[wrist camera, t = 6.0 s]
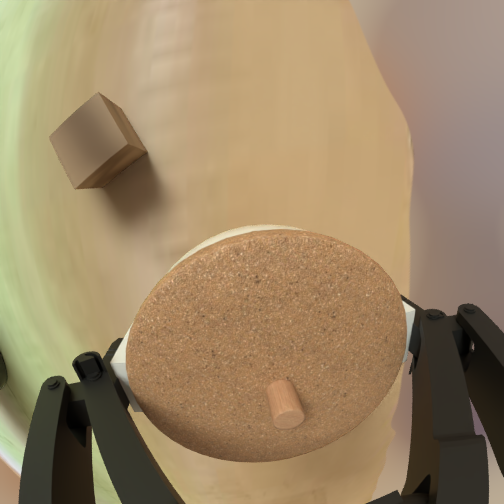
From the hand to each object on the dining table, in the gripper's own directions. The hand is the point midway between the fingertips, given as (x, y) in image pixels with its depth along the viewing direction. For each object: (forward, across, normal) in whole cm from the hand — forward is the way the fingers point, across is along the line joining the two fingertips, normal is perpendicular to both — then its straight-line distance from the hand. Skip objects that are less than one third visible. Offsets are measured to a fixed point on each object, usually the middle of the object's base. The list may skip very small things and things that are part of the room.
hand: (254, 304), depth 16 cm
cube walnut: (+8, -10, +12) cm, 17 cm away
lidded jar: (+1, 0, 0) cm, 1 cm away
